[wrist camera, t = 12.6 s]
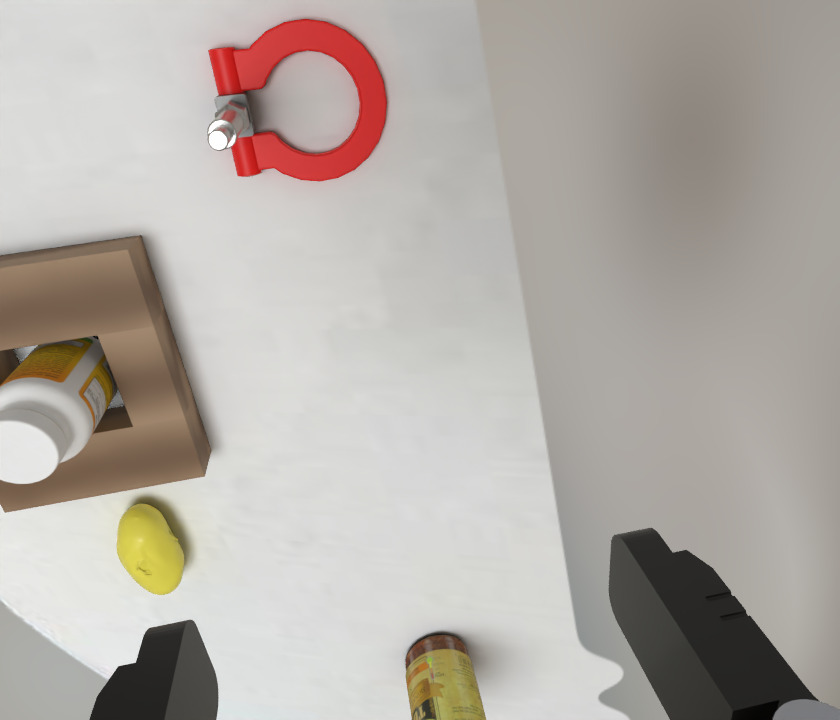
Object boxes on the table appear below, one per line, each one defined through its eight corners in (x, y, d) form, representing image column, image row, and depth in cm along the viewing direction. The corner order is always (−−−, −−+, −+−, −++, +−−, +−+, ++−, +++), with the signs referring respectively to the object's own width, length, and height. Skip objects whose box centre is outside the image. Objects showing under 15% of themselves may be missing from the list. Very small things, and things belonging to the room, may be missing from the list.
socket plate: (-88, 268, 35) (-121, 285, 33) (140, 235, 37) (127, 249, 34) (24, 484, 43) (4, 512, 40) (211, 450, 44) (204, 476, 41)
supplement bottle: (15, 369, 39) (-68, 458, 30) (66, 313, 38) (-5, 388, 29) (90, 417, 41) (33, 512, 33) (141, 366, 40) (95, 450, 32)
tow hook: (373, 12, 34) (203, 30, 33) (421, -10, 22) (163, 17, 21) (391, 167, 38) (240, 189, 36) (440, 215, 26) (224, 249, 25)
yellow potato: (171, 489, 45) (159, 524, 42) (196, 568, 49) (187, 606, 45) (112, 497, 44) (95, 534, 41) (141, 576, 48) (128, 616, 45)
